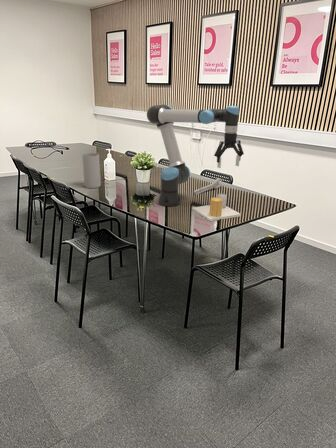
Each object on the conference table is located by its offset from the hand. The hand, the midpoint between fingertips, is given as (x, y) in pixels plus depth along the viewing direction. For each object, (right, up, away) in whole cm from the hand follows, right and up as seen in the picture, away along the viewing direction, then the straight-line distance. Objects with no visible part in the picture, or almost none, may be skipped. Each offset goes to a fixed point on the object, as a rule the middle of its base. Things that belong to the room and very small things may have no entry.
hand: (228, 166), depth 215 cm
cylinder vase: (-98, -7, +51) cm, 110 cm away
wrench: (-8, -12, +43) cm, 45 cm away
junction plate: (-8, -29, -2) cm, 31 cm away
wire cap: (-9, -31, -9) cm, 33 cm away
